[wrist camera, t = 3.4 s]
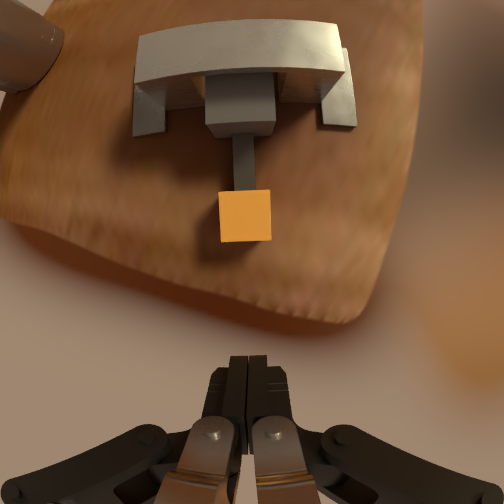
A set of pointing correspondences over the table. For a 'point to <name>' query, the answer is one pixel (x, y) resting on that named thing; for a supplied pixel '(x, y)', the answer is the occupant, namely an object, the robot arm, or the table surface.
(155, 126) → the housing
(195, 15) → the table surface
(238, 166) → the plug
